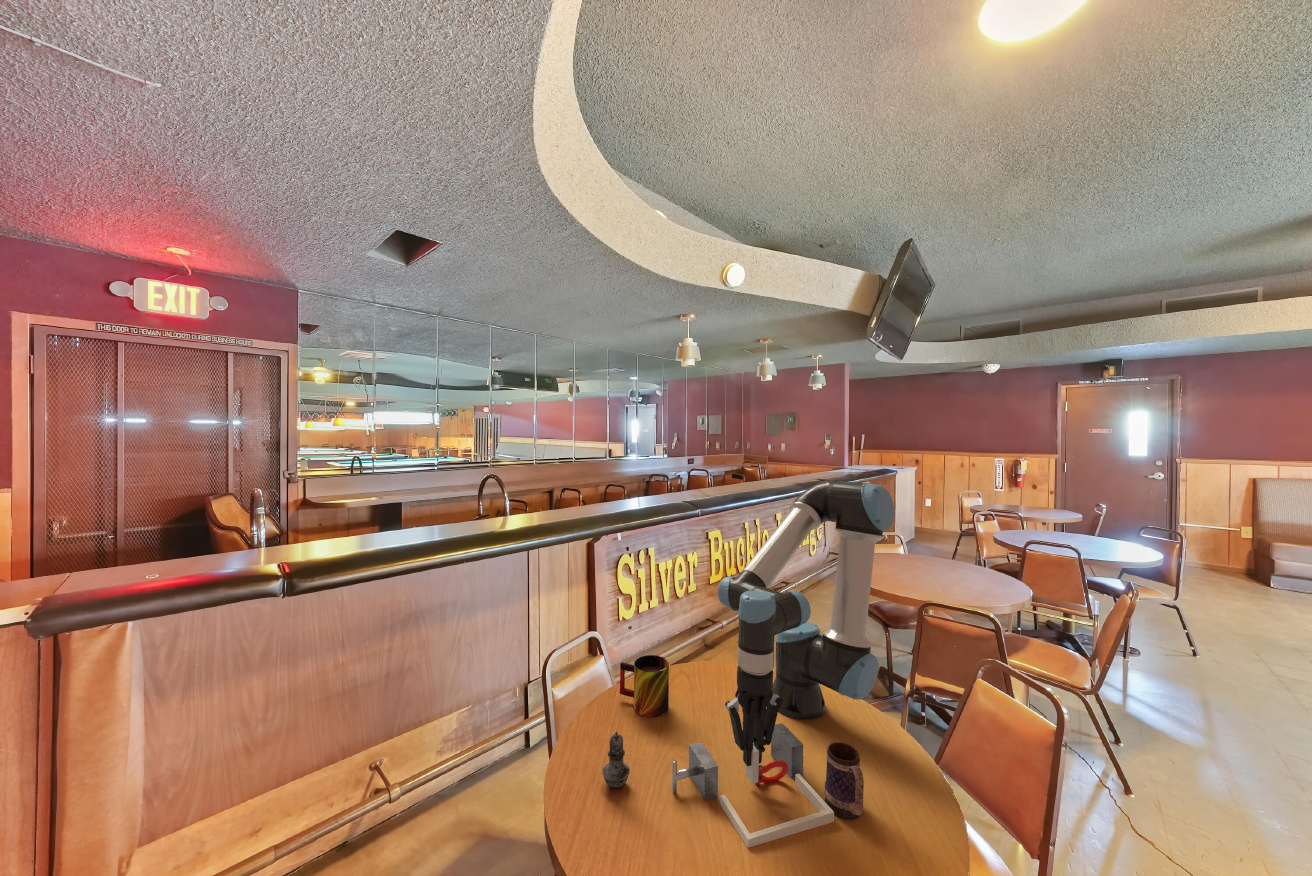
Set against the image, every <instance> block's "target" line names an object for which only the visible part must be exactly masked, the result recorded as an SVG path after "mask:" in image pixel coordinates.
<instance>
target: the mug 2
mask: <svg viewBox="0 0 1312 876" xmlns="http://www.w3.org/2000/svg"><path fill="white" fill-rule="evenodd" d="M825 773H826V774H825V782H824V801H825V803H826V804H827V805H828V806H829V807H830V808H831V809H832V810H833V811H834V817H837V818H839V819H843V820H845V821H853V820H857V819H859V818H860V817H861V816H862V815H864V814H863V813H864V791H865V790H864V789H865V780H864V773H863V771H862V769H861V758H860V754H859V752H858V750H857V749H856V748H855V747H854V746H852V745H850V744H848V743H847V742H846V743H845V742H840V741H835V742H831V743H829V744H828V746H827V749H826V771H825Z"/></svg>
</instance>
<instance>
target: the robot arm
mask: <svg viewBox="0 0 1312 876" xmlns="http://www.w3.org/2000/svg"><path fill="white" fill-rule="evenodd" d="M894 505H895V504H894V501H893V497H892V496H891V494H890V492H889V490H888V489H887V488H886V487H884V486H883V485H880V484H874V483H870V482H859V481H858V482H856V481H855V482H853V481H840V480H836V479H835V480H833V479H832V480H825V481H824V480H823V481H820V482H818V483H815V484H814V485H812V486H810V487H808V488H807V489H805V490H804V491H803V492H801V493H800V494H799V495H798V496H797V497H796V498H794V500H793V501H792V503H791V504H790V505H789V507H788V514H786V516H785V517H784V519H782V521H781V523H780V524H779V525H778V526H777V527H776V529H774V531H773V532H772V533H771V535H770V536H769V537H768V538H767V540H766V541H765V542H764V543H763V545H762V546H760V548H759V549H758V550H757V552H756V553H755V554H754V555H753V557H752V558H751V559H750V560H749V562H748V563H747V564H746V566H745V567H744V568H743V569H742V570H741V572H740V573H739V574H738V575H737V576H726V577H723V578H722V580H721V581H720V582H719V585H718V588H717V598H718V601H719V602H720V603H721V604H722V605H723V606H725V607H727V608H729V609H730V610H732V611H733V612H737V615H738V638H737V639H738V641H737V668H736V686H737V688H736V692H735V694H734V695H735V696H734V698H733V699H732V700H731V701H729V700H727V701H725V702H724V703H725V704H724V706H725V708H726V709H727V711H728V713H729V717H730V722H731V723H730V724H731V728H732V733H733V738H734V742H735V744H736V745H737V747H738V749H740V751H741V752H742V751H743V753H742V761H743V763H744V764H745V776H746V777H747V778H748V780H749V781H750V783H751V784H752V785H753V784H755V783H758V770H759V765H761V763H762V761H763V759H762V758H763V753H765V751H766V747H765V746H771V740H772V735H773V731H774V727H775V725H776V721H777V717H778V713H780V714H781V715H783V716H785V717H788V718H791V719H795V720H804V721H805V720H806V721H809V720H811V721H812V720H815V719H818V718H820V717H822V716H823V715H824V714H825V713H826V701H825V698H824V695H823V692H822V689H821V686H823V687H826V688H828V689H830V690H832V691H834V692H836V693H838V694H839V695H841V696H845V697H848V698H850V699H853V700H856V701H857V700H862V699H865V698H866V697H867V696H869V694H870V692H871V691H872V690H873V688H874V686H875V684H876V680H877V679H878V675H879V669H880V666H879V665H880V664H879V659H878V657H876V656H875V655H874V654H873V653H871V650H872V649H871V647H872V643H871V642H870V641H869V639H868V637H867V635H866V634H867V633H866V632H867V624H868V614H869V605H870V597H871V587H872V579H873V578H872V576H873V567H874V559H875V558H874V557H875V548H876V543H877V542H878V541H879V540H881V539H883V536H884V535H883V533H884V531H885V532H886V531H888V530H890V529H891V528H892V526H893V523H894V521H895V506H894ZM825 522H831V523H835V529H834V530H835V532H837V533H838V535H839V537H840V539H839V546H838V555H837V564H836V573H835V580H834V591H833V597H832V606H831V608H832V609H831V618H830V623H829V624H830V625H829V627H828V628H827V629H825V630H824V631H823V633H822V635H821V630H820V627H819V626H818V625H817V624H815V623H813V622H809V620H810V618H811V612H812V611H811V605H810V602H809V600H808V599H807V597H806V596H805V595H804V594H803V593H802V592H799V591H797V590H796V591H795V590H792V591H791V590H788V591H786V592H781V591H778V590H775V589H772V588H770V586H771V585H772V583H773V582H774V581H775V580H776V579H777V577H778V575H779V574H780V573H782V572H781V571H782V570H783V569H784V568H785V566H786V565H787V564H788V562H789V561H790V560H791V558H792V557H793V556H794V555H795V554H796V552H797V551H798V549H799V548H800V546H801V545H802V544H803V543H804V541H805V540H806V539H807V537H808V536H809V535H810V533H811V532H812V531H813V530H817V529H819V528H820V527H821V525H822V524H823V523H825ZM775 636H776V637H775ZM774 667H775V678H774V670H773V669H774ZM820 685H821V686H820ZM739 706H740V707H739ZM740 708H741V712H742V722H741V716H740V714H739V712H740Z"/></svg>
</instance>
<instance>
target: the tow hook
mask: <svg viewBox="0 0 1312 876" xmlns="http://www.w3.org/2000/svg"><path fill="white" fill-rule="evenodd" d="M779 767H780V768H781V771H780V772H778V773H776V774H775V775H773V776H770V777H769V776H765V775H763V774H766V773H768V772H769V771H770V770H772V769H774V768H779ZM788 769H789V767H788V765H787V763H786V762H785V761H775V760H774V761H772V762H769V763H767V764H766V765H762V764H759V770H758V783H754V785H756V786H760V784H762V783H763V784H768V783H773V782H778V781H780V780H781V779H783V778H784V777H785V776H786V775H787V772H788Z"/></svg>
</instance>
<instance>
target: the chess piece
mask: <svg viewBox="0 0 1312 876" xmlns="http://www.w3.org/2000/svg"><path fill="white" fill-rule="evenodd" d="M625 753H626V751H625V749H624V738H623V736H622V735H621V734H619V733H618V731H617V730H616V732H614V734H612V735H611V736H610V738H609V750H608V751H607V756H608V763H607V764H605V766H603V769H602V770H601V771H602V777H603V780H604V782H605V783H606V785H607V786H608V787H611V788H613V789H620V788H621V787H622V786H624V785H625V784H626V783H627V780H628V779H629V775H630V772H631V769H630V766H629V765H628V764H627V763H626V762H624V756H625Z"/></svg>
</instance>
